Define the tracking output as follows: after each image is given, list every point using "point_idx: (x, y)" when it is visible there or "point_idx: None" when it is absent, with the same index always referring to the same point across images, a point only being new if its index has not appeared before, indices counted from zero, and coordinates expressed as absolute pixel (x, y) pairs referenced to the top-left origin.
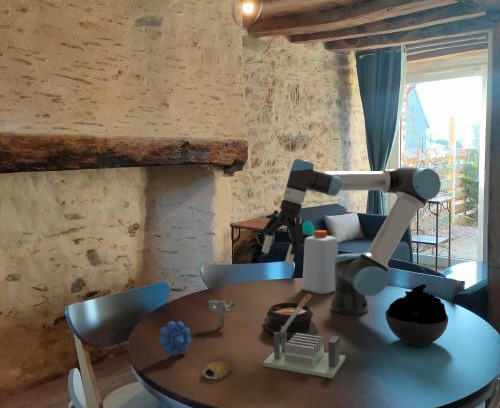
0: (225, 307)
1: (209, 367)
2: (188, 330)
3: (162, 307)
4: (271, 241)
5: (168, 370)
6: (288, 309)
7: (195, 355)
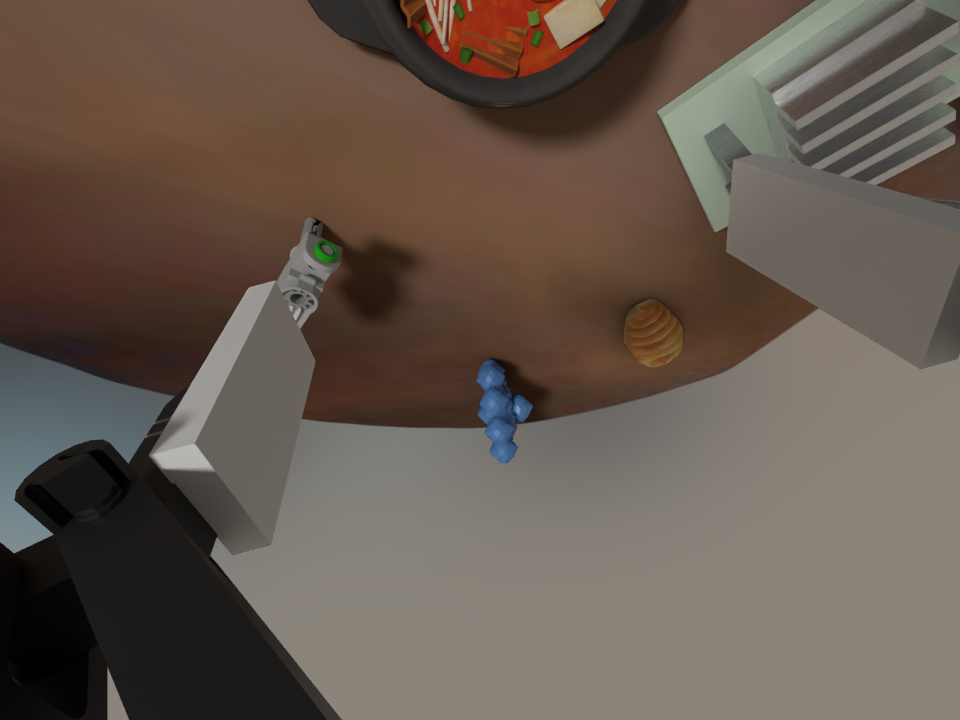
0: (328, 276)
1: (663, 364)
2: (503, 403)
3: (6, 343)
4: (229, 378)
5: (556, 392)
6: None
7: (516, 342)
